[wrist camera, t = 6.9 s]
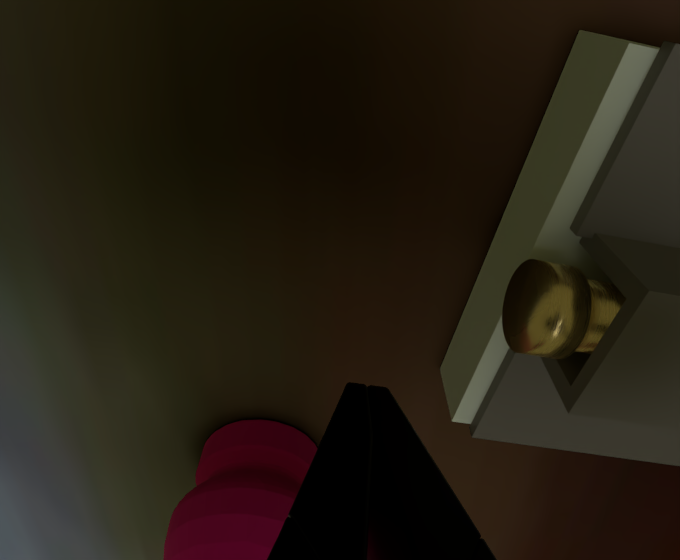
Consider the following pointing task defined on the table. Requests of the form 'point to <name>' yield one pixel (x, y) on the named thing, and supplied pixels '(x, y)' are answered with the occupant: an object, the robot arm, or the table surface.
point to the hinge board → (588, 265)
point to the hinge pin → (556, 310)
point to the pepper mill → (240, 492)
